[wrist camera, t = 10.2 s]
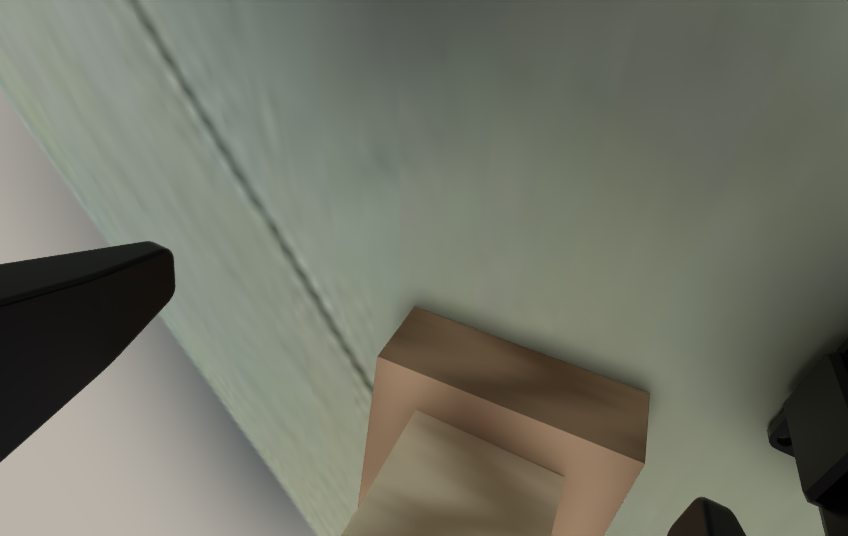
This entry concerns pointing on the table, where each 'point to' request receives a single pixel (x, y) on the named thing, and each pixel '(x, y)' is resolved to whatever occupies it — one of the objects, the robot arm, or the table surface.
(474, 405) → the walnut block
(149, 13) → the table surface
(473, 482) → the maple cube
